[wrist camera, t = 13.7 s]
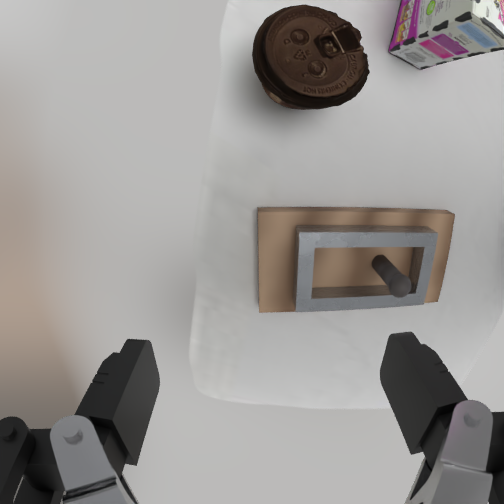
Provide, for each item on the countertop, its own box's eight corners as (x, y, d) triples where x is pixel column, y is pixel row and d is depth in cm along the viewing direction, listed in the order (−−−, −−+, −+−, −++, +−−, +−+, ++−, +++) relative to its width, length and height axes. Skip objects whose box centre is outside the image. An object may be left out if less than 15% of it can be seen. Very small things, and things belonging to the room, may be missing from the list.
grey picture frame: (427, 226, 33) (438, 233, 31) (415, 294, 37) (423, 304, 34) (296, 224, 33) (299, 232, 31) (292, 300, 37) (295, 312, 34)
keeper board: (446, 210, 35) (489, 232, 26) (431, 294, 39) (464, 330, 30) (257, 207, 35) (259, 233, 26) (259, 304, 39) (260, 350, 30)
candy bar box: (422, 72, 29) (516, 51, 13) (386, 53, 28) (470, 13, 13) (436, 4, 25) (516, -35, 9) (403, -15, 24) (474, -68, 9)
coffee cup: (340, 57, 29) (386, 22, 16) (324, 126, 32) (365, 124, 19) (261, 37, 28) (266, -14, 16) (244, 107, 31) (239, 90, 19)
